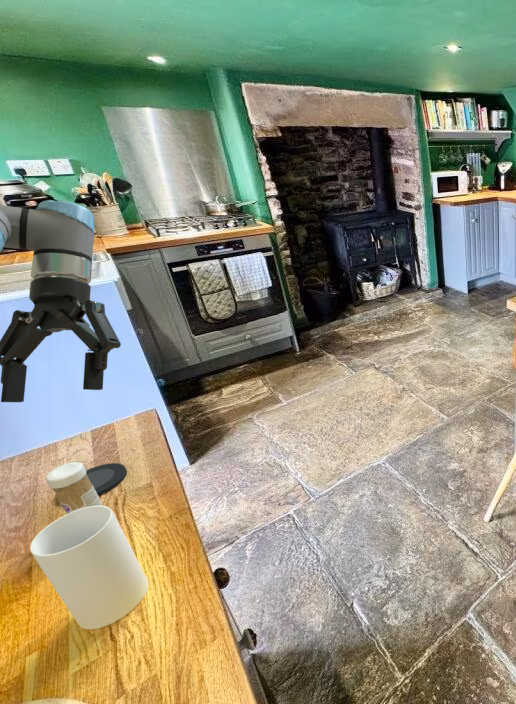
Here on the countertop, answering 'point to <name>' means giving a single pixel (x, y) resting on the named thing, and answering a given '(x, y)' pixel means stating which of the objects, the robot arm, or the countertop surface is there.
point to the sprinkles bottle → (73, 487)
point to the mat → (106, 476)
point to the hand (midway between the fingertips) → (52, 395)
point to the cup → (91, 566)
